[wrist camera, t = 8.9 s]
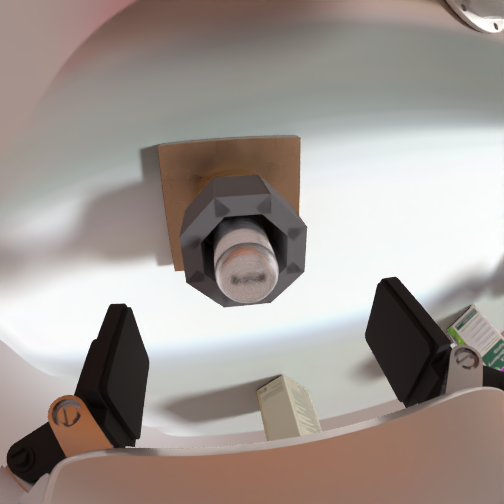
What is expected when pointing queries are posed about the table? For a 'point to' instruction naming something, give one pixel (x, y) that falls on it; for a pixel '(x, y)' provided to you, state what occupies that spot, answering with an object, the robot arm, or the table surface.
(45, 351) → the table surface
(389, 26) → the table surface
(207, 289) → the ring
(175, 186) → the post stand
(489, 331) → the syrup box
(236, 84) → the table surface
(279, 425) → the skincare box
